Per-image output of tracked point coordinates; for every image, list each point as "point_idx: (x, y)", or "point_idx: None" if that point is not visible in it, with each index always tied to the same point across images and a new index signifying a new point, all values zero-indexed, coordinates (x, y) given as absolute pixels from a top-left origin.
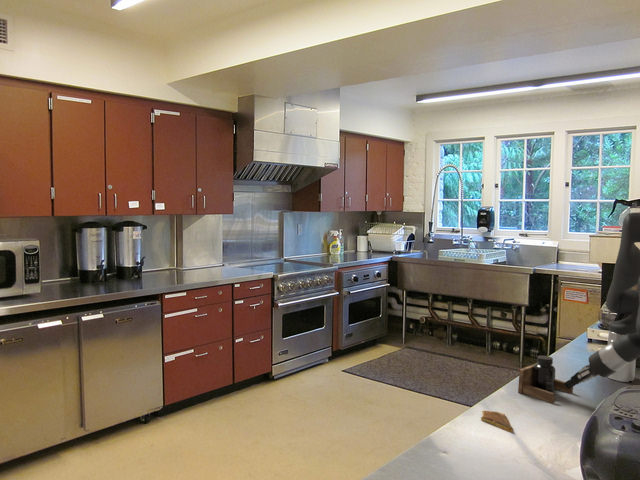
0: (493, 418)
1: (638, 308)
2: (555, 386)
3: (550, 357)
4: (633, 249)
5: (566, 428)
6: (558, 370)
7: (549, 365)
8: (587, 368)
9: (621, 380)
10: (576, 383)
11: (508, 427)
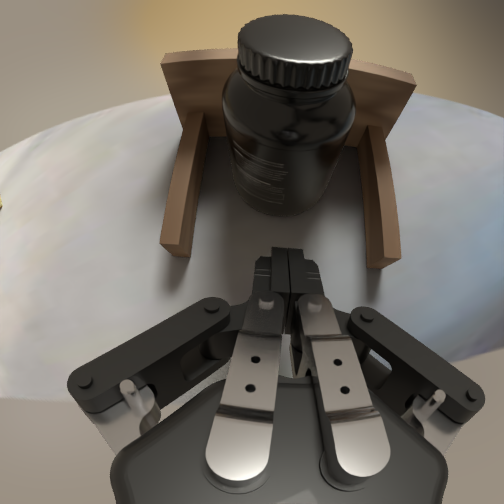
0: None
1: None
2: (366, 191)
3: (338, 52)
4: None
5: (21, 368)
6: (500, 156)
7: (273, 95)
8: (117, 497)
9: None
10: (184, 357)
11: None
